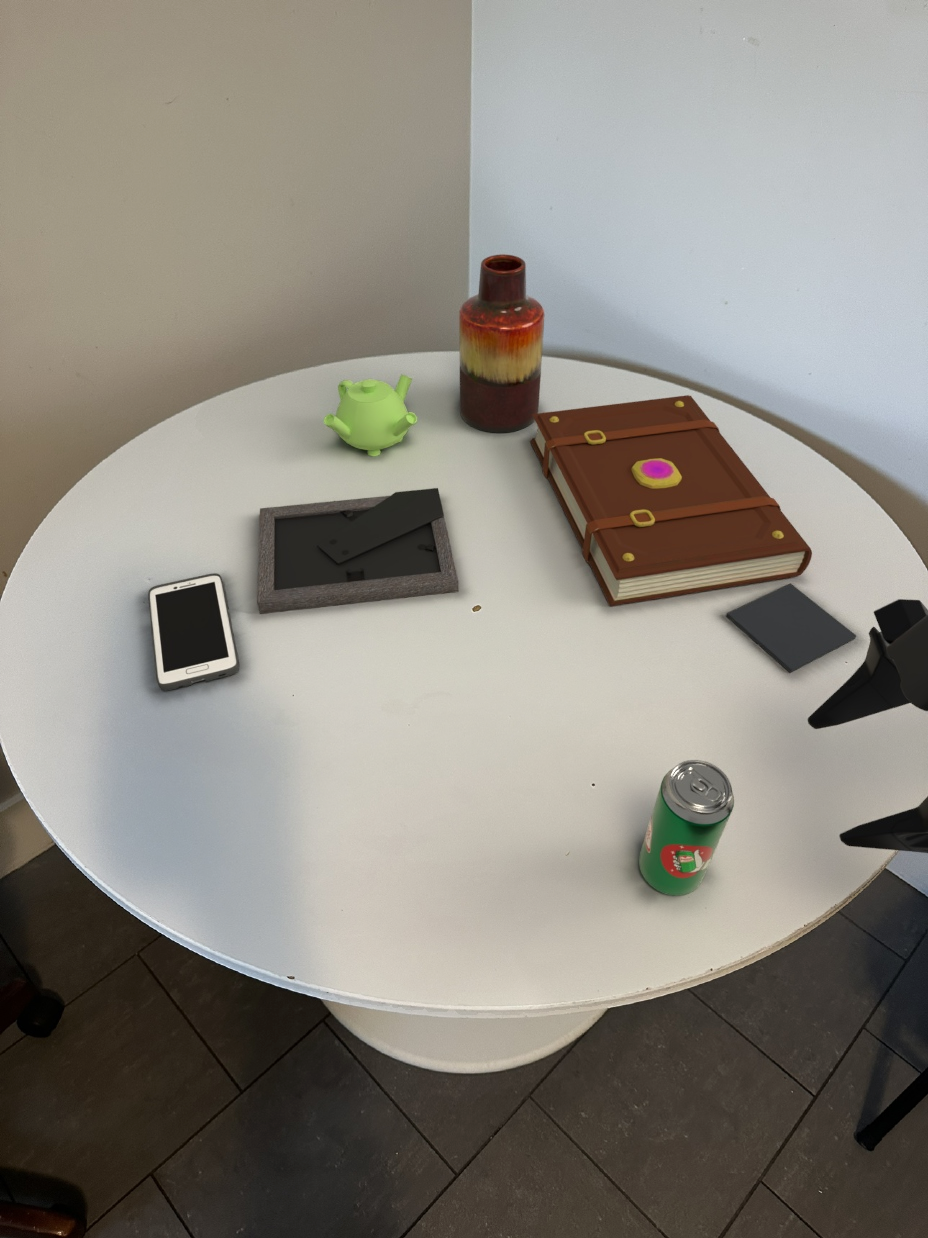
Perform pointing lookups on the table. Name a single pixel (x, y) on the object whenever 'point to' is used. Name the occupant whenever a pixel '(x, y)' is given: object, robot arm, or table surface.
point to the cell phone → (191, 632)
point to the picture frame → (354, 551)
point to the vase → (500, 349)
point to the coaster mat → (791, 627)
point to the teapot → (372, 414)
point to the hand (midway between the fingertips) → (825, 779)
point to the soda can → (685, 826)
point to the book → (663, 501)
